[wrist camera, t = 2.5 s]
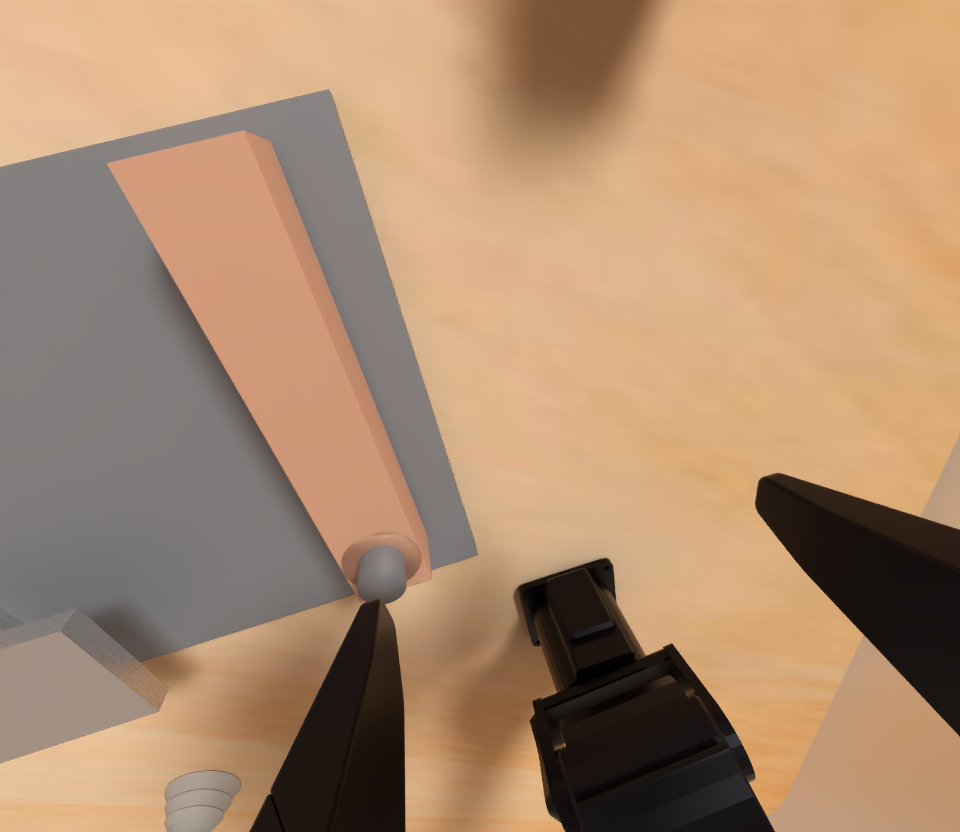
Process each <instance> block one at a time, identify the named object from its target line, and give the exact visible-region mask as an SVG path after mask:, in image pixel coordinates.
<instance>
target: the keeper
mask: <svg viewBox="0 0 960 832" xmlns="http://www.w3.org/2000/svg"><path fill="white" fill-rule="evenodd" d="M168 689H169V688H168V687H167V686H166V685H165V684H164V683H163V682H161V681H160V680H159V679H158V678H157V677H156V676H155V675H154V674H152V673H151V672H150V671H149V670H148V669H147V668H146V667H144V666H143V665H142V664H141V663H140V662H139V661H138V660H136V659H135V658H134V657H133V656H132V655H131V654H130V653H129V652H127V651H126V650H125V649H124V648H123V647H122V646H121V645H119V644H118V643H117V642H116V641H115V640H114V639H113V638H112V637H110V636H109V635H108V634H107V633H106V632H105V631H104V630H102V629H101V628H100V627H99V626H98V625H97V624H96V623H95V622H93V621H92V620H91V619H90V618H89V617H88V616H87V615H85V614H84V613H83V612H82V611H81V610H80V609H79V608H75V609H72V610H68V611H65V612H62V613H58V614H55V615H52V616H49V617H45V618H42V619H39V620H36V621H32V622H29V623H26V624H24V623H23V622H21V621H20V620H19V619H18V618H16V617H15V616H14V615H12V614H11V613H10V612H9V611H7V610H6V609H5V608H4V607H2V606H1V605H0V763H3V762H6V761H9V760H12V759H15V758H18V757H21V756H24V755H28V754H31V753H34V752H37V751H40V750H43V749H46V748H49V747H52V746H55V745H58V744H61V743H64V742H67V741H71V740H74V739H77V738H80V737H83V736H86V735H89V734H92V733H95V732H98V731H101V730H104V729H107V728H110V727H114V726H117V725H120V724H123V723H126V722H129V721H132V720H135V719H138V718H141V717H144V716H147V715H150V714H154V713H157V712H159V710H160V708H161V706H162V703H163V701H164V699H165V696H166V694H167V692H168Z"/></svg>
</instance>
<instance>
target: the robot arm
mask: <svg viewBox="0 0 960 832" xmlns="http://www.w3.org/2000/svg"><path fill="white" fill-rule="evenodd" d="M755 506H756V509H757V512H758V513H759V515H760V516H761V517H762V519H763V520H764V521H765V522H766V524H767V525H768V526H769V528H770V529H771V530H772V531H773V533H774V534H775V535H776V537H777V538H778V539H779V540H780V542H781V543H782V544H783V545H784V547H785V548H786V549H787V551H788V552H789V553H790V554H791V556H792V557H793V558H794V560H795V561H796V562H797V563H798V564H799V566H800V567H801V568H802V569H803V570H804V571H805V573H806V574H807V575H808V576H809V577H810V578H811V579H812V580H813V581H814V582H815V583H816V585H817V586H818V587H819V588H820V589H821V590H822V591H823V592H824V593H825V594H826V595H827V596H828V597H829V598H830V599H831V600H832V602H833V603H834V604H835V605H836V606H837V607H838V608H839V609H840V610H841V611H842V612H843V613H844V614H845V615H846V616H847V617H848V618H849V620H850V621H851V622H852V623H853V624H854V625H855V626H856V627H857V628H858V629H859V630H860V631H861V632H862V633H863V634H864V635H865V637H867V638H868V640H869V641H870V642H871V643H872V644H873V645H874V646H875V647H876V648H877V649H878V650H879V651H880V652H881V653H882V655H883V656H884V657H885V658H886V659H887V660H888V661H889V662H890V663H891V664H892V665H893V666H894V667H895V668H896V669H897V670H898V672H899V673H900V674H901V675H902V676H903V677H904V678H905V679H906V680H907V681H908V682H909V683H910V684H911V685H912V686H913V687H914V688H915V689H916V691H917V692H918V693H920V695H921V696H922V697H923V698H924V699H925V700H926V701H927V702H928V703H929V704H930V705H931V706H932V708H933V709H934V710H935V711H936V712H937V713H938V714H939V715H940V716H941V717H942V718H943V719H944V720H945V721H946V722H947V723H948V725H950V727H952V729H953V730H954V731H955V732H956V733H957V734H958V735H959V736H960V530H959V529H956V528H952V527H950V526H946V525H943V524H940V523H937V522H934V521H931V520H927V519H924V518H921V517H918V516H915V515H912V514H908V513H905V512H902V511H899V510H896V509H892V508H889V507H886V506H883V505H880V504H877V503H873V502H870V501H867V500H864V499H861V498H858V497H854V496H851V495H848V494H845V493H842V492H839V491H835V490H832V489H829V488H826V487H823V486H820V485H816V484H813V483H810V482H807V481H804V480H801V479H797V478H794V477H791V476H788V475H785V474H781V473H774V474H771V475H768V476H764V477H762V478H761V479H760V480H759V482H758V487H757V493H756V500H755ZM518 592H519V596H520V600H521V603H522V607H523V611H524V615H525V618H526V622H527V626H528V630H529V633H530V637H531V641H532V644H533V645H534V646H541V647H542V650H543V653H544V656H545V659H546V662H547V665H548V667H549V670H550V673H551V676H552V679H553V682H554V685H555V688H556V691H557V693H556V694H553V695H551V696H548V697H546V698H544V699H541V698H539V699H536V700H534V701H532V702H533V707H534V711H535V714H534V716H533V717H532V718H531V719H530V723H531V727H532V731H533V734H534V738H535V742H536V746H537V750H538V754H539V760H540V767H541V774H542V781H543V788H544V796H545V802H546V806H547V809H548V812H549V814H550V815H551V816H552V817H553V818H555V819H556V820H557V821H559V822H560V823H562V826H563V828H564V830H565V832H775V831H774V829H773V827H772V825H771V823H770V822H769V820H768V818H767V816H766V814H765V812H764V810H763V808H762V807H761V805H760V803H759V801H758V799H757V797H756V795H755V793H754V792H753V790H752V788H751V786H750V784H749V782H751V781H753V780H755V772H754V770H753V767H752V764H751V762H750V759H749V757H748V755H747V753H746V751H745V749H744V747H743V745H742V743H741V741H740V739H739V737H738V736H737V734H736V732H735V730H734V729H733V727H732V725H731V724H730V722H729V720H728V719H727V717H726V716H725V714H724V713H723V711H722V710H721V708H720V707H719V705H718V704H717V703H716V701H715V700H714V699H713V697H712V696H711V695H710V693H709V692H708V691H707V689H706V688H705V687H704V685H703V684H702V683H701V681H700V680H699V679H698V677H697V676H696V675H695V673H694V672H693V671H692V669H691V668H690V667H689V665H688V664H687V663H686V661H685V660H684V659H683V657H682V656H681V655H680V653H679V652H678V651H677V649H676V648H675V647H674V645H673V644H672V643H671V644H669V645H666V646H664V647H663V649H662V650H659V651H657V652H654V653H652V654H650V655H647V656H646V655H645V653H644V651H643V650H642V648H641V646H640V644H639V643H638V641H637V639H636V637H635V635H634V634H633V632H632V630H631V628H630V626H629V625H628V623H627V621H626V619H625V618H624V616H623V614H622V612H621V610H620V609H619V607H618V605H617V603H616V595H615V583H614V571H613V565H612V563H611V561H610V560H609V559H607V558H604V559H601V560H598V561H594V562H591V563H588V564H585V565H582V566H579V567H576V568H573V569H570V570H567V571H564V572H560V573H557V574H554V575H551V576H548V577H545V578H542V579H539V580H536V581H533V582H530V583H527V584H524V585H522V586H520V587H519V589H518ZM564 743H565V745H566V747H565V746H564ZM270 791H271V794H269V795H268V796H267V797H266V800H265V802H264V804H263V806H262V808H261V810H260V812H259V814H258V816H257V818H256V820H255V822H254V824H253V826H252V828H251V830H250V832H405V734H404V699H403V689H402V681H401V672H400V664H399V655H398V646H397V638H396V630H395V625H394V621H393V619H392V617H391V615H390V613H389V611H388V609H387V607H386V605H385V604H384V602H383V600H382V599H380V598H377V599H374V600H370V601H367V602H365V603H363V604H362V605H361V606H360V608H359V610H358V612H357V614H356V616H355V618H354V621H353V623H352V625H351V627H350V629H349V631H348V633H347V635H346V637H345V639H344V641H343V643H342V645H341V647H340V649H339V651H338V653H337V655H336V657H335V659H334V661H333V663H332V665H331V667H330V669H329V671H328V674H327V676H326V678H325V680H324V682H323V684H322V686H321V688H320V690H319V692H318V694H317V696H316V698H315V700H314V702H313V704H312V706H311V708H310V710H309V712H308V714H307V716H306V718H305V720H304V722H303V724H302V726H301V729H300V731H299V733H298V735H297V737H296V739H295V741H294V743H293V745H292V747H291V749H290V751H289V753H288V755H287V757H286V759H285V761H284V763H283V765H282V767H281V769H280V771H279V773H278V775H277V777H276V779H275V782H274V784H273V786H272V788H271V790H270Z"/></svg>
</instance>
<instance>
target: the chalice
mask: <svg viewBox="0 0 960 832" xmlns="http://www.w3.org/2000/svg"><path fill="white" fill-rule="evenodd" d="M240 786H241V783H240V781H239V779H238V778H237V777H235V776H234V775H232V774H229V773H226V772H219V771H200V772H195V773H190V774H187V775H184V776H181V777H178V778H177V779H175V780H173V781H172V782H170V783H169V785H168V786H167V787H166V789H165V797H166V802H167V803H166V805H165V813H166V819H165V826H166V829H167V832H211V831H212V830H213V829H214V828H215V827H216V826H217V825H218V824H219V822H220V821H221V820H222V819H223V814H224V813H225V812H226V810H227V809H228V808H229V806H230V805H231V801H232V799H233V798H234V796H235V795H236V794H237V792H238V791H239V790H240Z"/></svg>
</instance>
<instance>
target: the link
mask: <svg viewBox="0 0 960 832" xmlns="http://www.w3.org/2000/svg"><path fill="white" fill-rule="evenodd" d="M107 165H108V167H109V169H110V170H111V172H112V174H113V175H114V177H115V179H116V181H117V182H118V184H119V186H120V188H121V189H122V191H123V193H124V194H125V196H126V198H127V200H128V201H129V203H130V205H131V207H132V208H133V210H134V212H135V214H136V215H137V217H138V219H139V220H140V222H141V224H142V226H143V227H144V229H145V231H146V233H147V234H148V236H149V238H150V239H151V241H152V243H153V245H154V246H155V248H156V250H157V252H158V253H159V255H160V257H161V259H162V260H163V262H164V264H165V265H166V267H167V269H168V271H169V272H170V274H171V276H172V278H173V279H174V281H175V283H176V284H177V286H178V288H179V290H180V291H181V293H182V295H183V297H184V298H185V300H186V302H187V304H188V305H189V307H190V309H191V310H192V312H193V314H194V316H195V317H196V319H197V321H198V323H199V324H200V326H201V328H202V329H203V331H204V333H205V335H206V336H207V338H208V340H209V342H210V343H211V345H212V347H213V349H214V350H215V352H216V354H217V355H218V357H219V359H220V361H221V362H222V364H223V366H224V368H225V369H226V371H227V373H228V374H229V376H230V378H231V380H232V381H233V383H234V385H235V387H236V388H237V390H238V392H239V394H240V395H241V397H242V399H243V400H244V402H245V404H246V406H247V407H248V409H249V411H250V413H251V414H252V416H253V418H254V419H255V421H256V423H257V425H258V426H259V428H260V430H261V432H262V433H263V435H264V437H265V439H266V440H267V442H268V444H269V445H270V447H271V449H272V451H273V452H274V454H275V456H276V458H277V459H278V461H279V463H280V464H281V466H282V468H283V470H284V471H285V473H286V475H287V477H288V478H289V480H290V482H291V484H292V485H293V487H294V489H295V490H296V492H297V494H298V496H299V497H300V499H301V501H302V503H303V504H304V506H305V508H306V510H307V511H308V513H309V515H310V516H311V518H312V520H313V522H314V523H315V525H316V527H317V529H318V530H319V532H320V534H321V535H322V537H323V539H324V541H325V542H326V544H327V546H328V548H329V549H330V551H331V553H332V555H333V556H334V558H335V560H336V561H337V563H338V565H339V567H340V568H341V570H342V572H343V574H344V575H345V577H346V579H347V580H348V582H349V584H350V586H351V587H352V589H353V591H354V593H355V594H356V596H357V598H358V600H359V601H360V602H362V601H366V602H367V601H370V600H374V599H377V598H380V599H382V600H383V602H384V604H387V603H390V602H393V601H395V600H397V599H398V598H400V597H401V596H402V595H403V593H404V592H405V590H406V587H409V586H412V585H415V584H419V583H422V582H425V581H428V580H431V579H432V573H431V565H430V557H429V548H428V540H427V534H426V531H425V529H424V526H423V523H422V521H421V518H420V516H419V513H418V511H417V508H416V506H415V503H414V501H413V498H412V496H411V493H410V491H409V488H408V486H407V483H406V481H405V478H404V476H403V473H402V471H401V468H400V466H399V463H398V461H397V458H396V455H395V453H394V450H393V448H392V445H391V443H390V440H389V438H388V435H387V433H386V430H385V428H384V425H383V423H382V420H381V418H380V415H379V413H378V410H377V408H376V405H375V403H374V400H373V398H372V395H371V393H370V390H369V387H368V385H367V382H366V380H365V377H364V375H363V372H362V370H361V367H360V365H359V362H358V360H357V357H356V355H355V352H354V350H353V347H352V345H351V342H350V340H349V337H348V335H347V332H346V330H345V327H344V325H343V322H342V319H341V317H340V314H339V312H338V309H337V307H336V304H335V302H334V299H333V297H332V294H331V292H330V289H329V287H328V284H327V282H326V279H325V277H324V274H323V272H322V269H321V267H320V264H319V262H318V259H317V257H316V254H315V251H314V249H313V246H312V244H311V241H310V239H309V236H308V234H307V231H306V229H305V226H304V224H303V221H302V219H301V216H300V214H299V211H298V209H297V206H296V204H295V201H294V199H293V196H292V194H291V191H290V189H289V186H288V183H287V181H286V178H285V176H284V173H283V171H282V168H281V166H280V163H279V161H278V158H277V156H276V153H275V151H274V148H273V146H272V143H271V142H270V141H268V140H265V139H263V138H261V137H258V136H256V135H254V134H251V133H249V132H247V131H244V130H243V131H239V132H234V133H230V134H226V135H222V136H218V137H214V138H209V139H205V140H201V141H197V142H193V143H189V144H184V145H180V146H176V147H172V148H168V149H164V150H160V151H155V152H151V153H147V154H143V155H139V156H135V157H130V158H126V159H122V160H118V161H114V162H110V163H107Z"/></svg>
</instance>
